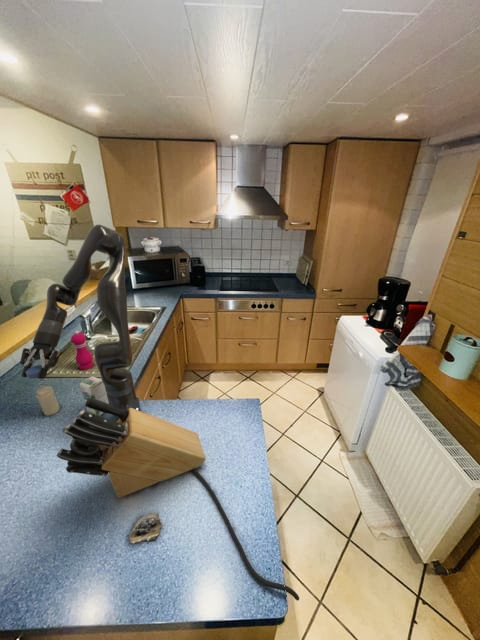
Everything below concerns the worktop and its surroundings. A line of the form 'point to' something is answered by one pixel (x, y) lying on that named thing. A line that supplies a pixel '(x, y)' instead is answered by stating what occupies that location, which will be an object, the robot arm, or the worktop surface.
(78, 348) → the pepper mill
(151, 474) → the knife block
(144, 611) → the worktop surface
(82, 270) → the robot arm
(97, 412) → the syrup box
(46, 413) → the jar
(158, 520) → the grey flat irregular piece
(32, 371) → the lid
